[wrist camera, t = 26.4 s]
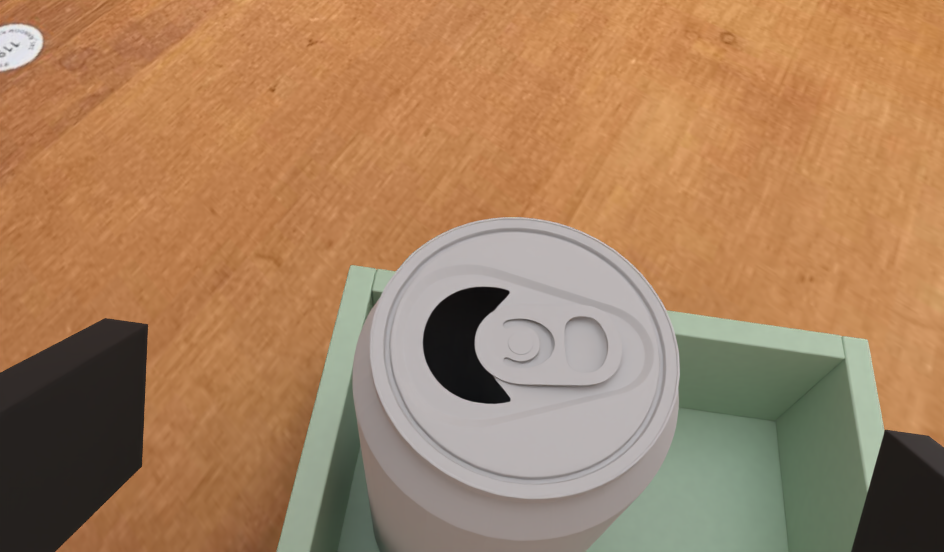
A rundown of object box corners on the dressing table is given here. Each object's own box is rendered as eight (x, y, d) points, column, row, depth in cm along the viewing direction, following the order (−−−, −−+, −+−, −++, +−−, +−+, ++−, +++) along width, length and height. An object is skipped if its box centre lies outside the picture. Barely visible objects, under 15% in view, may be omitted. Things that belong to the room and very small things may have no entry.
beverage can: (382, 412, 25) (363, 189, 15) (570, 421, 25) (679, 208, 15) (363, 619, 22) (323, 512, 11) (581, 626, 22) (730, 529, 12)
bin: (285, 677, 21) (248, 657, 17) (361, 351, 27) (350, 264, 22) (823, 757, 21) (946, 761, 16) (785, 412, 27) (868, 338, 22)
